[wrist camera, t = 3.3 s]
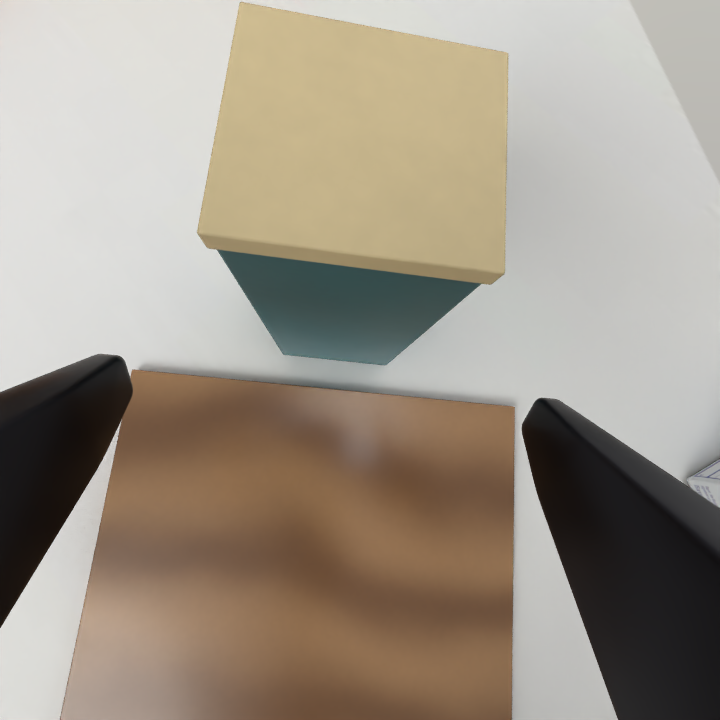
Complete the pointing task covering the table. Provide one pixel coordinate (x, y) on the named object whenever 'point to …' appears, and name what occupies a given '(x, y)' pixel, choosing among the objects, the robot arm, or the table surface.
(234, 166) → the toy carton
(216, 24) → the table surface
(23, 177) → the table surface
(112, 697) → the wooden board
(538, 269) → the table surface
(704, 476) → the medicine box
